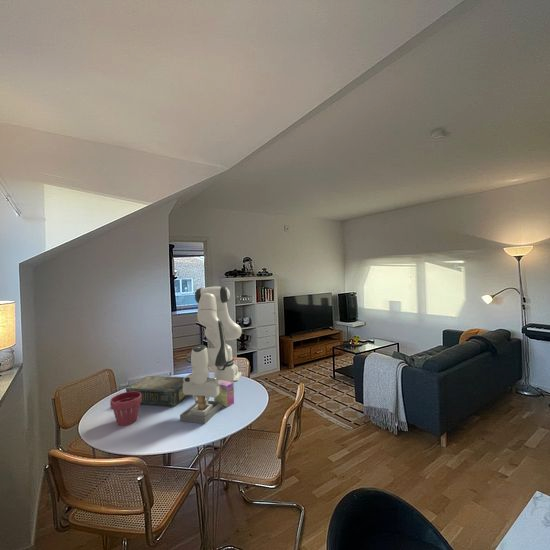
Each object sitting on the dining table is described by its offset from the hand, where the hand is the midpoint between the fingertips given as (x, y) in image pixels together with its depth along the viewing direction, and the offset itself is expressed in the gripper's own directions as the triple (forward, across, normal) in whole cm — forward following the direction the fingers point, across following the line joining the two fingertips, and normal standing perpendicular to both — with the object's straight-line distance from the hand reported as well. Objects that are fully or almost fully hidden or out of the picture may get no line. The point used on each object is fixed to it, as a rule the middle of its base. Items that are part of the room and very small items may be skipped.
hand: (201, 403), depth 152 cm
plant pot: (+6, +34, +15) cm, 38 cm away
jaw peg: (+3, 0, 0) cm, 3 cm away
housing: (+5, 0, 0) cm, 5 cm away
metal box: (+6, +36, -13) cm, 39 cm away
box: (+6, -6, -14) cm, 16 cm away
